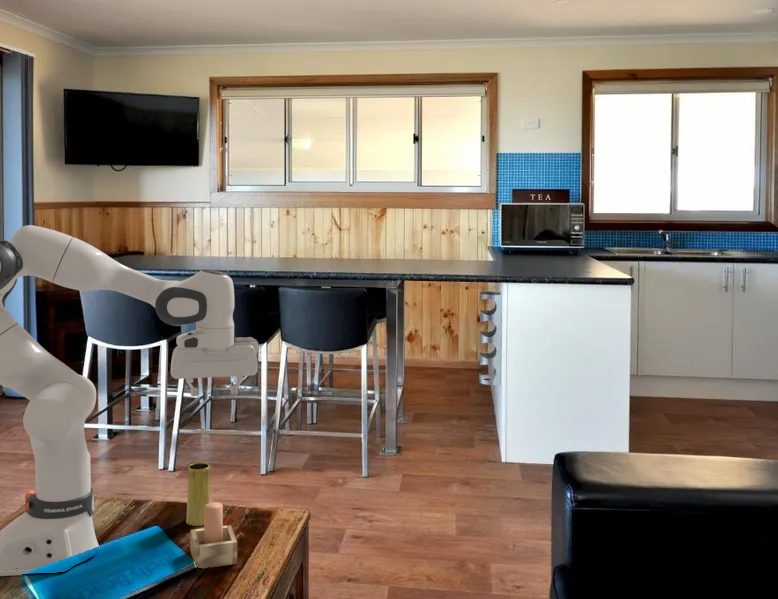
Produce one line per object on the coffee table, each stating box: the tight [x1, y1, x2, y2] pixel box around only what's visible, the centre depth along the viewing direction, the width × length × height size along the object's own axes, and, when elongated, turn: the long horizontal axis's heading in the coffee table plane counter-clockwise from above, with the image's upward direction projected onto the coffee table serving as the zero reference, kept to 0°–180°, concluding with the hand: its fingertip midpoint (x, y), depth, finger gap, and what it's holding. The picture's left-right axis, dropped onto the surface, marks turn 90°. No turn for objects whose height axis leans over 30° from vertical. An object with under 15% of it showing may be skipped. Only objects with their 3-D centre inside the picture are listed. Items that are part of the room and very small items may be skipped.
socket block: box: [190, 524, 238, 569], centre depth 160 cm, size 9×9×5 cm
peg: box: [203, 501, 224, 544], centre depth 160 cm, size 4×4×12 cm
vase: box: [185, 462, 211, 527], centre depth 178 cm, size 6×6×14 cm
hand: (214, 394), depth 172 cm, fingers open, 8 cm apart
